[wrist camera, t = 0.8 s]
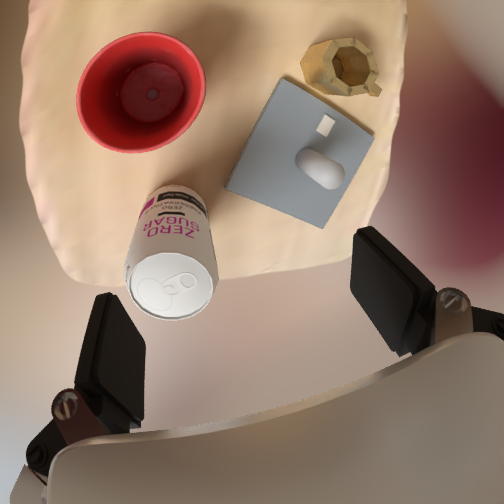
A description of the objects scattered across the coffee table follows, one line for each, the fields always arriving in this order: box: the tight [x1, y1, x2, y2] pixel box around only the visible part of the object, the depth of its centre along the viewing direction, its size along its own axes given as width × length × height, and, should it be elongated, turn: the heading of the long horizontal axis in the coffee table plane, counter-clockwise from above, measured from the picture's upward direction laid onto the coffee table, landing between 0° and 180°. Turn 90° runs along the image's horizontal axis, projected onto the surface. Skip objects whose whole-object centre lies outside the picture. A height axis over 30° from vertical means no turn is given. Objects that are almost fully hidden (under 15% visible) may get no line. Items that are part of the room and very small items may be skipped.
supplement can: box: [124, 185, 219, 320], centre depth 28 cm, size 8×8×15 cm
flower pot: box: [76, 32, 206, 153], centre depth 22 cm, size 11×11×10 cm
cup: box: [300, 37, 382, 97], centre depth 26 cm, size 9×7×6 cm
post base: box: [225, 78, 375, 229], centre depth 30 cm, size 15×15×8 cm
